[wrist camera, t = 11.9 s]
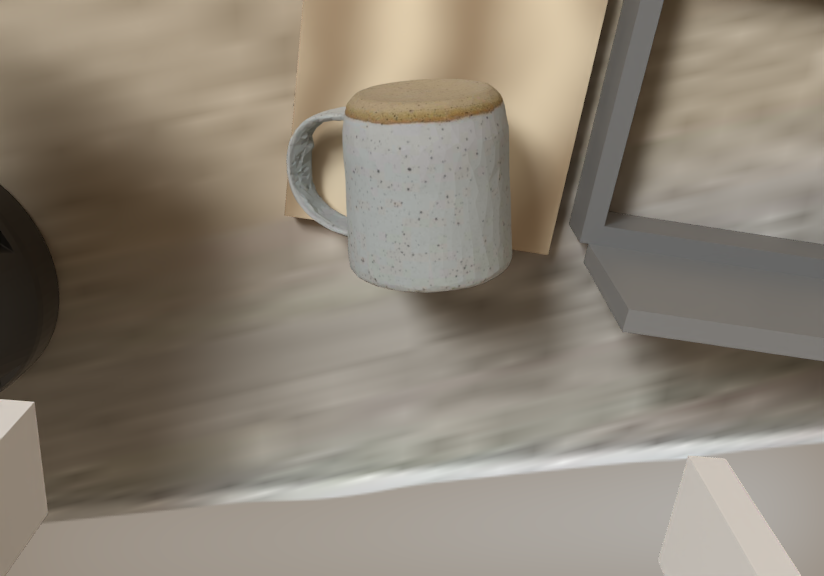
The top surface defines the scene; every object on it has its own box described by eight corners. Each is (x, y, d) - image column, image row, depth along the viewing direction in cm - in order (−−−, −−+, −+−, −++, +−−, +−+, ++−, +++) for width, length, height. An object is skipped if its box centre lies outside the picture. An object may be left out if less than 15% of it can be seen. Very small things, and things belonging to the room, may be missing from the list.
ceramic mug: (504, 65, 34) (514, 103, 27) (507, 228, 38) (517, 298, 31) (280, 81, 35) (236, 121, 28) (305, 238, 39) (271, 308, 32)
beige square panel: (288, 209, 39) (284, 215, 38) (314, -79, 34) (310, -82, 33) (544, 247, 40) (547, 254, 39) (609, -30, 34) (615, -31, 33)
